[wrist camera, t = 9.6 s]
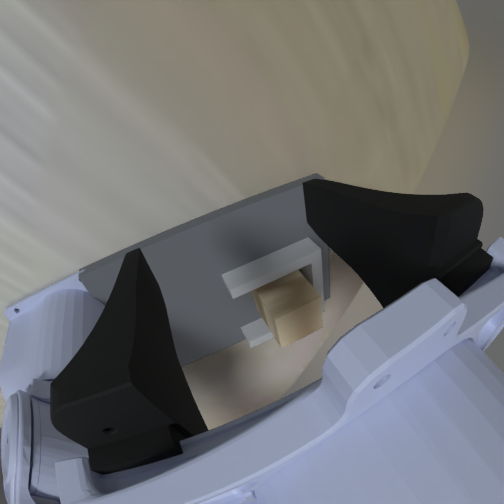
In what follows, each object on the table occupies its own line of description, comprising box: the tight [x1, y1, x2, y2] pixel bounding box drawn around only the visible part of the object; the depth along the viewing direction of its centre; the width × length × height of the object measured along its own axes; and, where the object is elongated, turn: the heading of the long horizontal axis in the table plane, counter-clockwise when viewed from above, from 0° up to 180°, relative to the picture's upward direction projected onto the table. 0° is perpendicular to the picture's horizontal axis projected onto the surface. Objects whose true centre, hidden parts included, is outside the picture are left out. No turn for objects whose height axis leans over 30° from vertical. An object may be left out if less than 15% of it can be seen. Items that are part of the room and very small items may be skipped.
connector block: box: [252, 270, 323, 348], centre depth 25 cm, size 4×4×5 cm
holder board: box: [79, 173, 330, 366], centre depth 25 cm, size 20×14×3 cm
